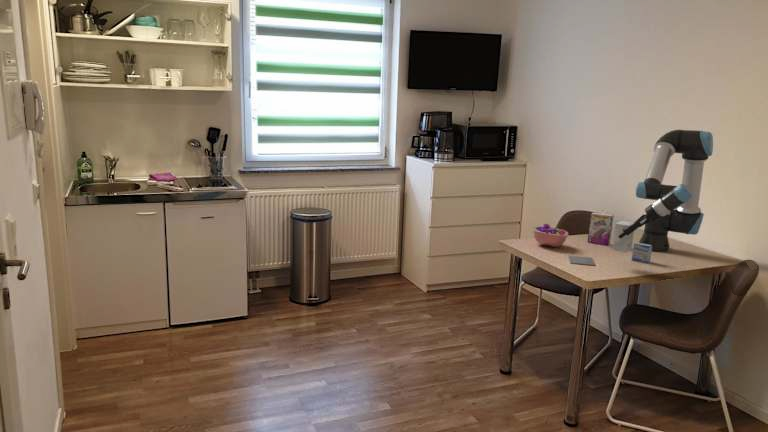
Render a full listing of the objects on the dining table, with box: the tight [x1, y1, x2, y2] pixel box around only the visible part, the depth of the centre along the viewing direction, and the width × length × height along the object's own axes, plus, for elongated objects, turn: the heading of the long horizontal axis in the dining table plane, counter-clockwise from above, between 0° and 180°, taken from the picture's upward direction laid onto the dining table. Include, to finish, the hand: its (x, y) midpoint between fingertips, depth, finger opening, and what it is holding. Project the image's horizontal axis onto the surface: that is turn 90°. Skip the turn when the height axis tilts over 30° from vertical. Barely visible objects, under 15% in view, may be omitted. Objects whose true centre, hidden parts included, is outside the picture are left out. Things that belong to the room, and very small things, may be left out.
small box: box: [612, 220, 635, 254], centre depth 265 cm, size 8×6×13 cm
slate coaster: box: [568, 255, 596, 267], centre depth 276 cm, size 11×13×1 cm
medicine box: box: [631, 241, 653, 264], centre depth 279 cm, size 8×4×9 cm, turn 53°
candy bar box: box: [587, 211, 614, 247], centre depth 311 cm, size 11×5×16 cm, turn 58°
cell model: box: [532, 223, 569, 248], centre depth 302 cm, size 17×20×11 cm
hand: (615, 238), depth 267 cm, fingers closed on small box, 9 cm apart
